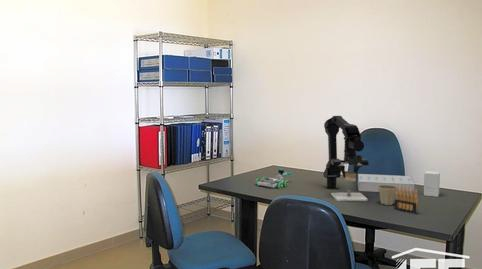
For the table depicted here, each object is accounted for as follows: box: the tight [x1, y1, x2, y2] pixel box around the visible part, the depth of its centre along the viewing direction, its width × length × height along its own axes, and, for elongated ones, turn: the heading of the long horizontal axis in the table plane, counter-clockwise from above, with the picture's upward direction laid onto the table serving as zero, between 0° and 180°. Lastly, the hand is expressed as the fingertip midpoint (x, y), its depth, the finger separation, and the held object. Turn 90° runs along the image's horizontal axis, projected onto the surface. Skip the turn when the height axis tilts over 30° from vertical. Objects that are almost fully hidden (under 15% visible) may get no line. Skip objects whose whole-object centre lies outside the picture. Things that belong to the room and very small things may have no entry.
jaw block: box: [342, 170, 357, 182], centre depth 222 cm, size 7×5×4 cm
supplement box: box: [423, 170, 441, 197], centre depth 229 cm, size 7×7×13 cm
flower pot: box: [378, 185, 397, 206], centre depth 211 cm, size 9×9×9 cm
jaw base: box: [330, 189, 368, 202], centre depth 223 cm, size 13×16×4 cm
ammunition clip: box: [393, 185, 419, 215], centre depth 197 cm, size 11×2×12 cm, turn 44°
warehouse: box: [357, 173, 416, 195], centre depth 242 cm, size 30×14×8 cm, turn 76°
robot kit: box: [255, 168, 293, 190], centre depth 255 cm, size 19×25×9 cm
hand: (349, 177), depth 222 cm, fingers closed on jaw block, 5 cm apart
